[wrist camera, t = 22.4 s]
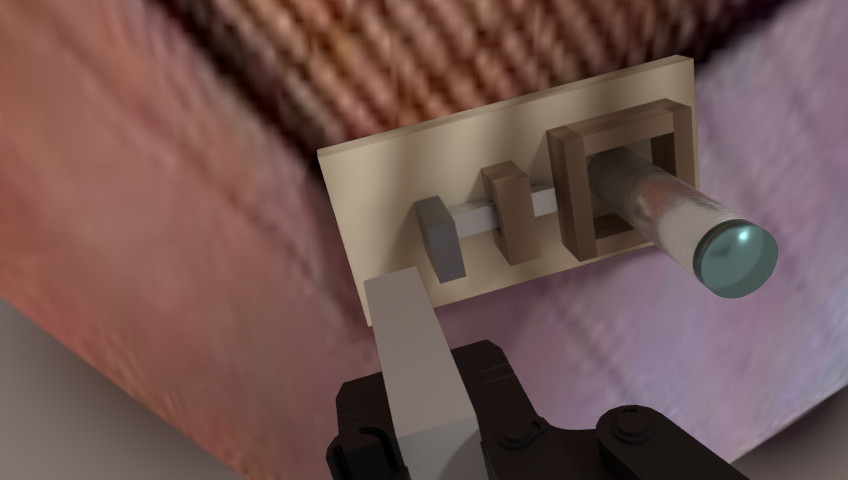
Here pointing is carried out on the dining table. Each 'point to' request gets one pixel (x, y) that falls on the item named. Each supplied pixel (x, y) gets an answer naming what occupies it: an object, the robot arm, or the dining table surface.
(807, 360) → the dining table surface
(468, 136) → the dock
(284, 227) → the dining table surface
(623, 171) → the silver cylinder
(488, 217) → the lock pin
